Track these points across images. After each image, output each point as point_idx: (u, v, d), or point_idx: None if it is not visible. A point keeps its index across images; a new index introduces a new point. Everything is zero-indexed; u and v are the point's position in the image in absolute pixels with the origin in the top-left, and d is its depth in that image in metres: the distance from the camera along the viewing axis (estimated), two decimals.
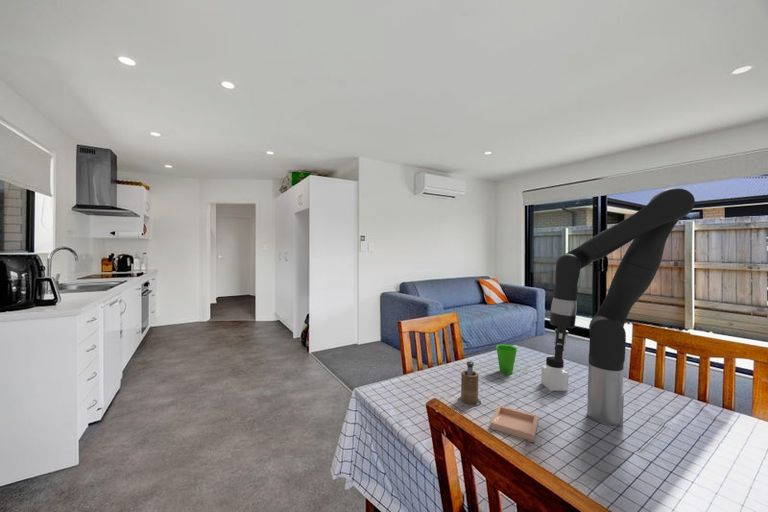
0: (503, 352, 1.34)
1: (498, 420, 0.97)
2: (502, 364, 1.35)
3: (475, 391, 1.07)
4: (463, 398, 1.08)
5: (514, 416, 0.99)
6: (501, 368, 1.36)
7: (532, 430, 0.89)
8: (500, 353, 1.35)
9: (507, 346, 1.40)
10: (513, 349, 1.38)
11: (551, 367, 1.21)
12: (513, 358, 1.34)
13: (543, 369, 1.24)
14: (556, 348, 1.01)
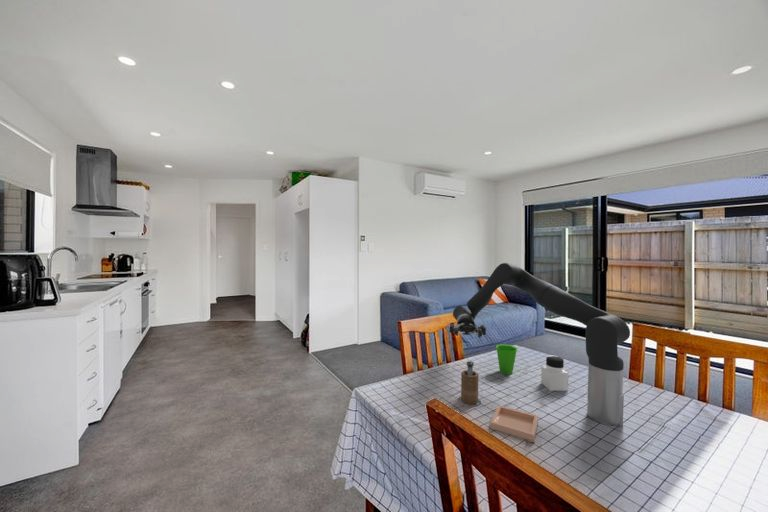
0: (503, 352, 1.34)
1: (498, 420, 0.97)
2: (502, 364, 1.35)
3: (475, 391, 1.07)
4: (463, 398, 1.08)
5: (514, 416, 0.99)
6: (501, 368, 1.36)
7: (532, 430, 0.89)
8: (500, 353, 1.35)
9: (507, 346, 1.40)
10: (513, 349, 1.38)
11: (551, 367, 1.21)
12: (513, 358, 1.34)
13: (543, 369, 1.24)
14: (449, 331, 1.26)
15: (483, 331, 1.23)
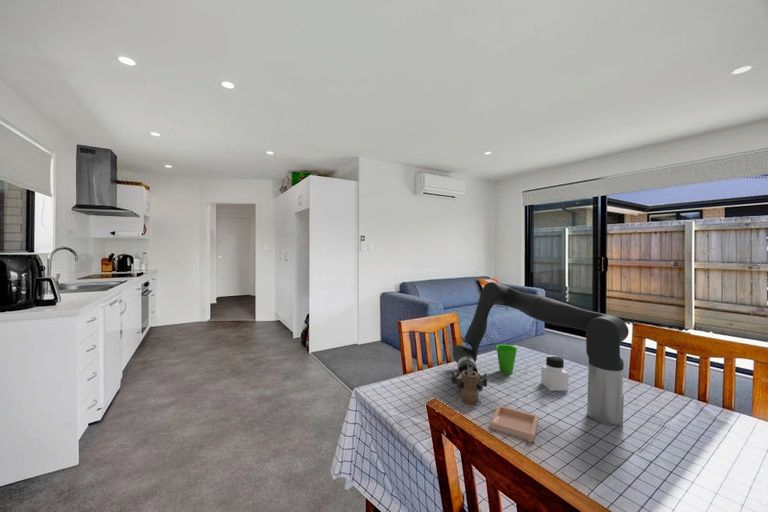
0: (503, 352, 1.34)
1: (498, 420, 0.97)
2: (502, 364, 1.35)
3: (475, 391, 1.07)
4: (463, 398, 1.08)
5: (514, 416, 0.99)
6: (501, 368, 1.36)
7: (532, 430, 0.89)
8: (500, 353, 1.35)
9: (507, 346, 1.40)
10: (513, 349, 1.38)
11: (551, 367, 1.21)
12: (513, 358, 1.34)
13: (543, 369, 1.24)
14: (452, 381, 1.13)
15: (484, 383, 1.10)
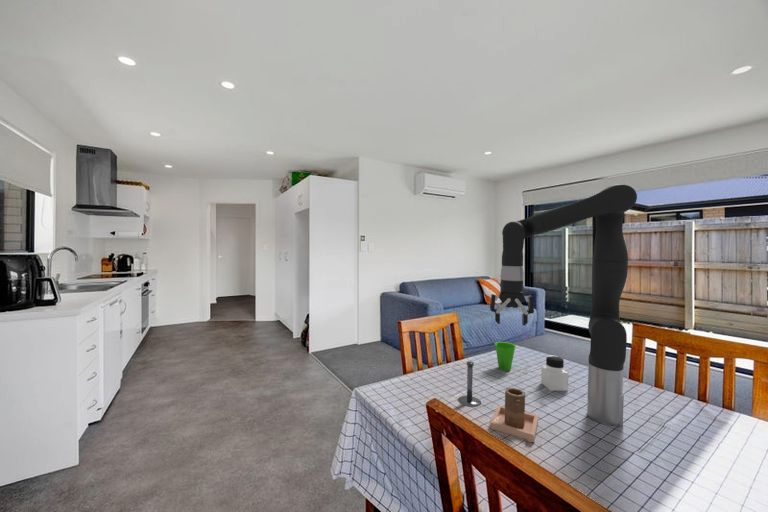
0: (499, 348, 1.39)
1: (498, 420, 0.97)
2: (499, 360, 1.40)
3: (522, 413, 0.93)
4: (508, 421, 0.94)
5: None
6: (498, 364, 1.41)
7: (532, 430, 0.89)
8: (497, 349, 1.40)
9: (509, 344, 1.43)
10: (513, 347, 1.40)
11: (551, 367, 1.21)
12: (509, 355, 1.37)
13: (543, 369, 1.24)
14: (490, 308, 1.11)
15: None
